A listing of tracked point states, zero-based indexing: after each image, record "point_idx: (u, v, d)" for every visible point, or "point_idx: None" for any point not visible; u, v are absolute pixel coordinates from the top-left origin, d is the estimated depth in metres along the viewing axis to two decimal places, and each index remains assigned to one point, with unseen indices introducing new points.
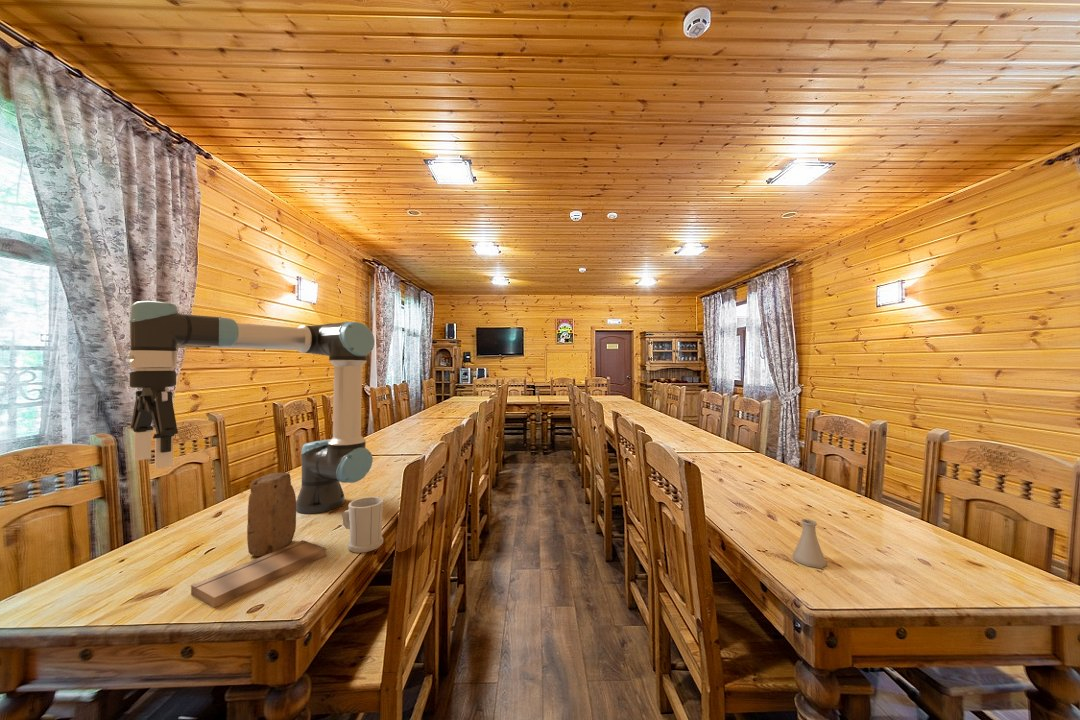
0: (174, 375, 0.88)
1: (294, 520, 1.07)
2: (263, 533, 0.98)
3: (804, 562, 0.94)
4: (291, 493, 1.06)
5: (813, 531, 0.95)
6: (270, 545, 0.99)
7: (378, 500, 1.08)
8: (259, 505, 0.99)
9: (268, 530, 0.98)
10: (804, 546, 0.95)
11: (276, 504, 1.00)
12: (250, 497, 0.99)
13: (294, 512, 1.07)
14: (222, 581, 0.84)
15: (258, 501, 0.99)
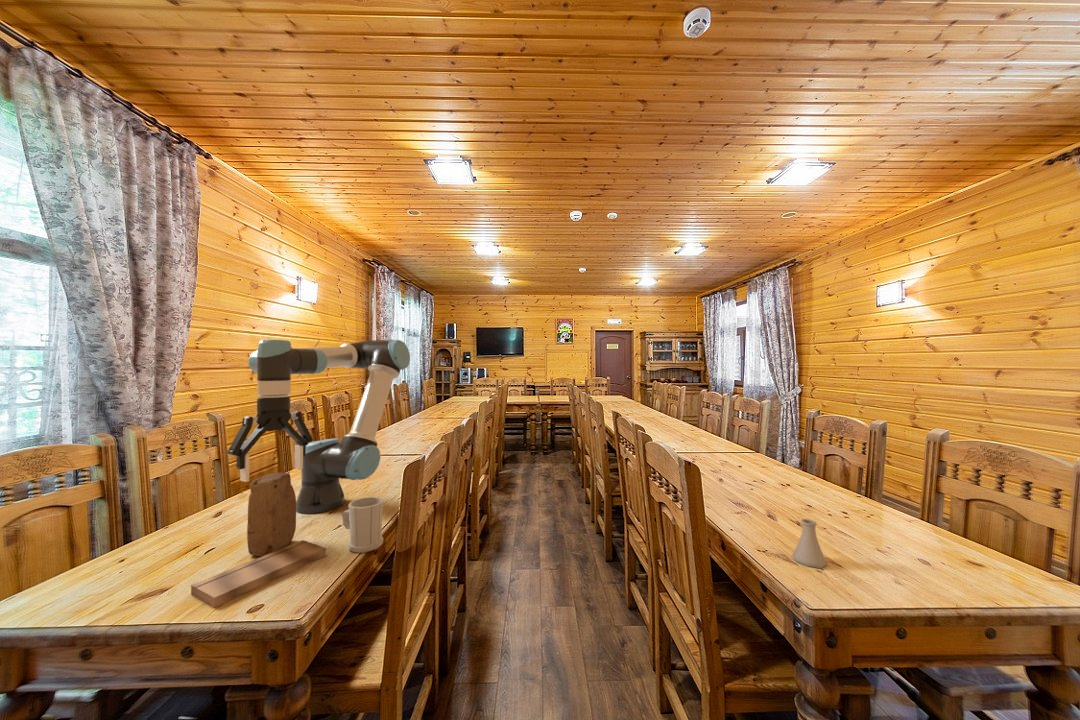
0: (270, 401, 1.01)
1: (294, 520, 1.07)
2: (263, 533, 0.98)
3: (804, 562, 0.94)
4: (291, 493, 1.06)
5: (813, 531, 0.95)
6: (270, 545, 0.99)
7: (378, 500, 1.08)
8: (259, 505, 0.99)
9: (268, 530, 0.98)
10: (804, 546, 0.95)
11: (276, 504, 1.00)
12: (250, 497, 0.99)
13: (294, 512, 1.07)
14: (222, 581, 0.84)
15: (258, 501, 0.99)
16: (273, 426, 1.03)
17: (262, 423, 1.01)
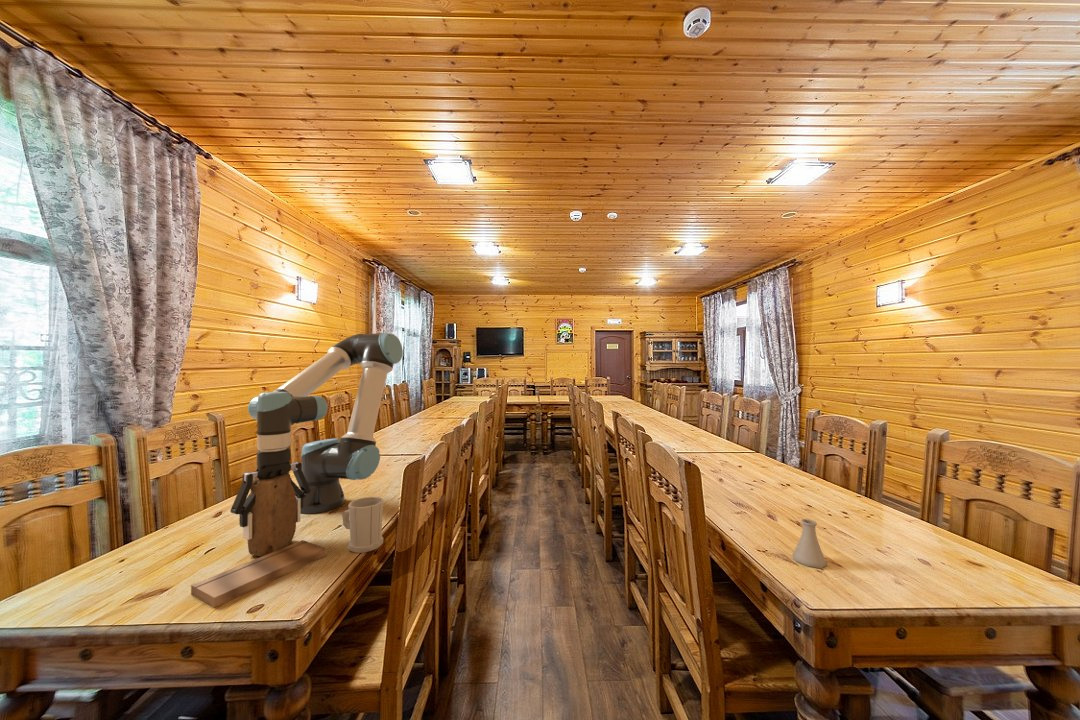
0: (270, 456, 1.01)
1: (294, 520, 1.07)
2: (263, 533, 0.98)
3: (804, 562, 0.94)
4: (291, 493, 1.06)
5: (813, 531, 0.95)
6: (271, 545, 0.99)
7: (378, 500, 1.08)
8: (260, 505, 0.99)
9: (268, 530, 0.98)
10: (804, 546, 0.95)
11: (276, 504, 1.01)
12: None
13: (294, 512, 1.07)
14: (222, 581, 0.84)
15: (259, 501, 0.99)
16: None
17: (262, 477, 1.01)
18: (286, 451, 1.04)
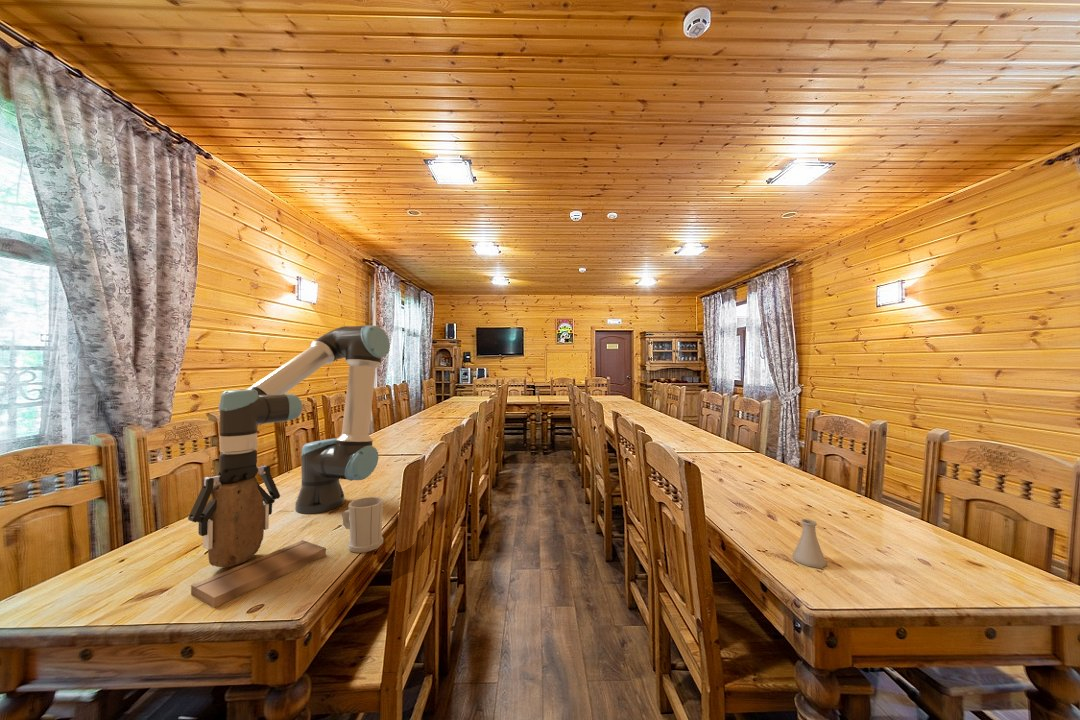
0: (233, 459, 0.93)
1: (261, 527, 0.99)
2: (225, 542, 0.91)
3: (804, 562, 0.94)
4: (258, 499, 0.98)
5: (813, 531, 0.95)
6: (233, 555, 0.92)
7: (378, 500, 1.08)
8: (221, 512, 0.91)
9: (230, 539, 0.91)
10: (804, 546, 0.95)
11: (240, 510, 0.93)
12: None
13: (261, 519, 0.99)
14: (222, 581, 0.84)
15: (220, 507, 0.91)
16: None
17: (224, 482, 0.93)
18: (252, 453, 0.96)
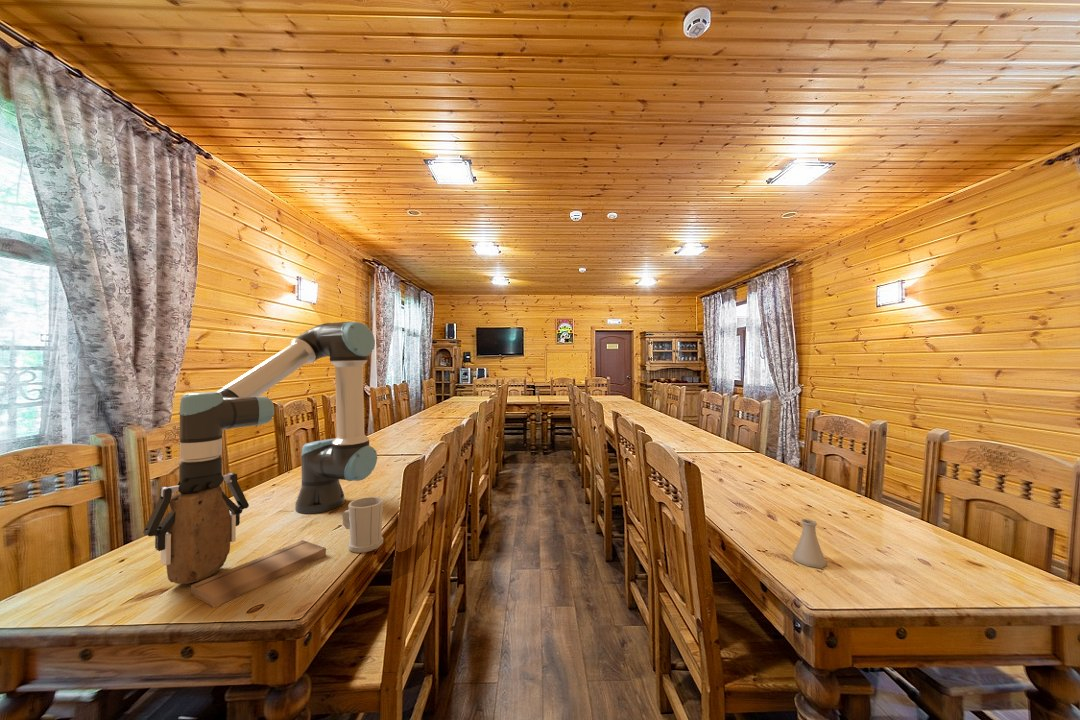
0: (194, 467, 0.86)
1: (227, 540, 0.93)
2: (184, 557, 0.84)
3: (804, 562, 0.94)
4: (223, 510, 0.92)
5: (813, 531, 0.95)
6: (193, 571, 0.85)
7: (378, 500, 1.08)
8: (180, 524, 0.84)
9: (190, 554, 0.84)
10: (804, 546, 0.95)
11: (201, 522, 0.86)
12: None
13: (227, 531, 0.93)
14: (222, 581, 0.84)
15: (179, 520, 0.85)
16: None
17: (184, 492, 0.86)
18: (215, 461, 0.89)
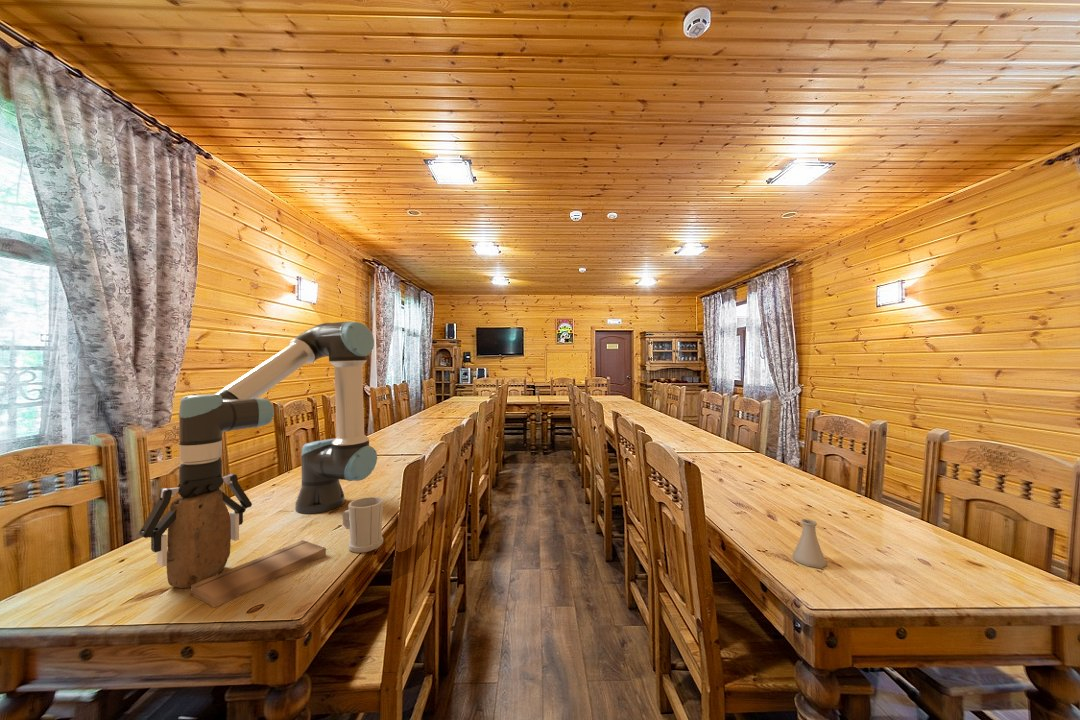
0: (194, 469, 0.86)
1: (227, 543, 0.93)
2: (184, 561, 0.84)
3: (804, 562, 0.94)
4: (223, 513, 0.92)
5: (813, 531, 0.95)
6: (194, 575, 0.85)
7: (378, 500, 1.08)
8: (180, 528, 0.85)
9: (190, 557, 0.84)
10: (804, 546, 0.95)
11: (202, 526, 0.86)
12: None
13: (227, 534, 0.93)
14: (222, 581, 0.84)
15: (179, 523, 0.85)
16: None
17: (184, 494, 0.86)
18: (215, 463, 0.89)
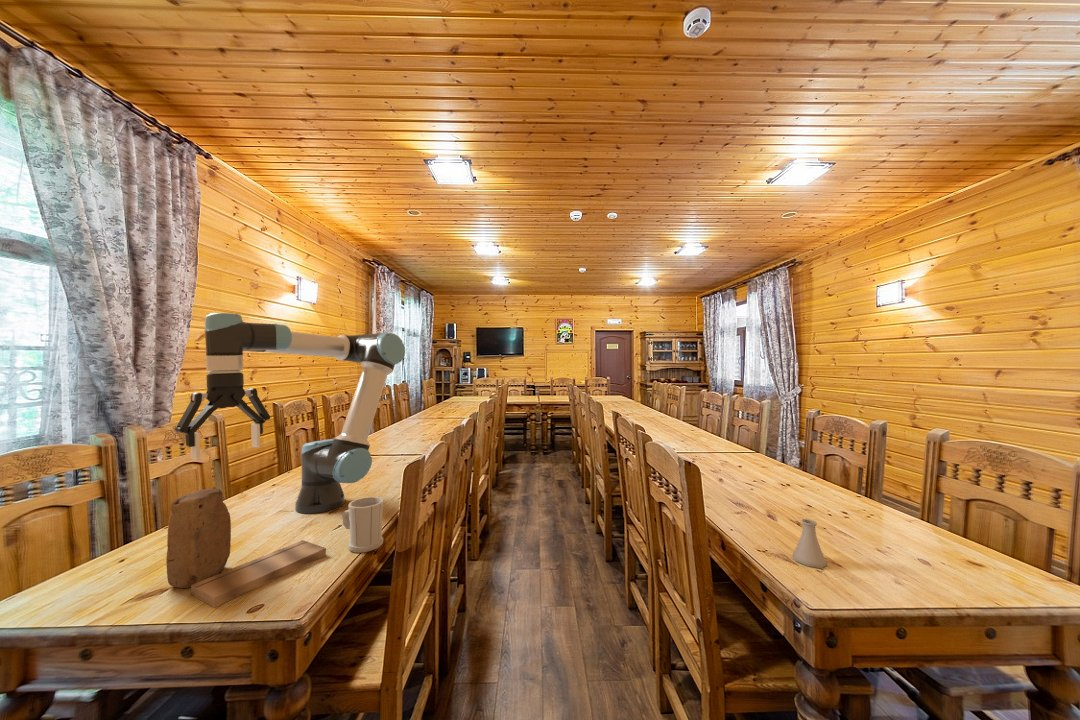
0: (220, 377, 0.97)
1: (227, 543, 0.93)
2: (184, 561, 0.84)
3: (804, 562, 0.94)
4: (223, 513, 0.92)
5: (813, 531, 0.95)
6: (194, 575, 0.85)
7: (378, 500, 1.08)
8: (181, 528, 0.85)
9: (190, 557, 0.84)
10: (804, 546, 0.95)
11: (202, 526, 0.86)
12: (170, 519, 0.85)
13: (227, 534, 0.93)
14: (222, 581, 0.84)
15: (179, 523, 0.85)
16: (225, 403, 0.99)
17: (213, 400, 0.97)
18: (238, 374, 1.00)
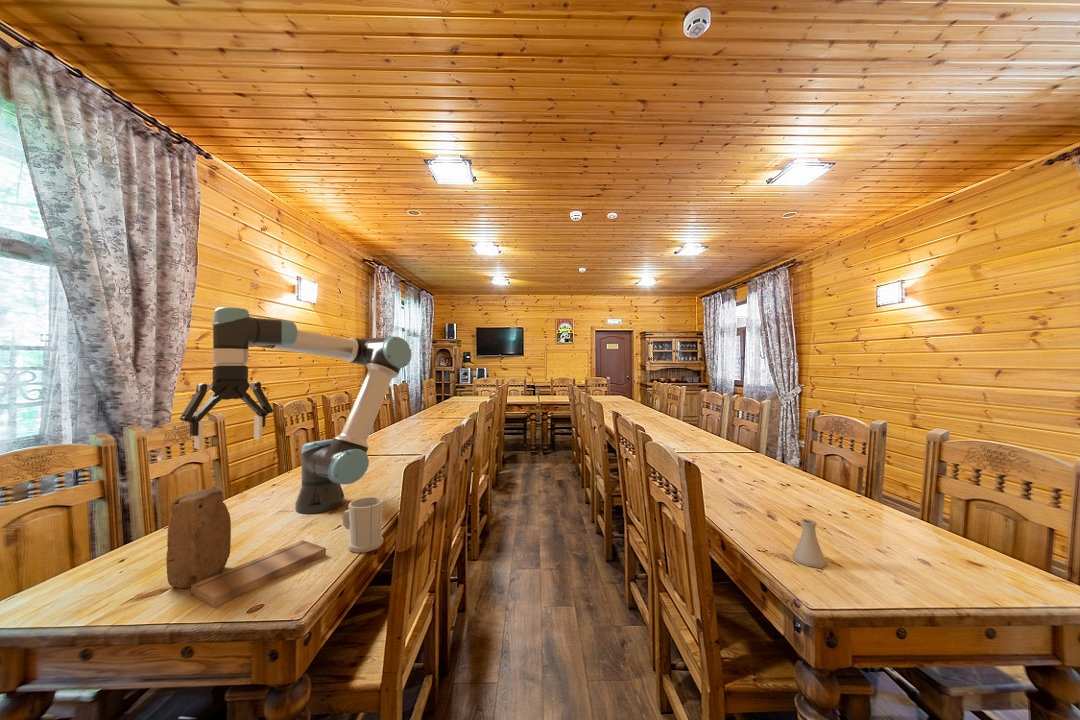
0: (225, 369, 1.00)
1: (227, 543, 0.93)
2: (184, 561, 0.84)
3: (804, 562, 0.94)
4: (223, 513, 0.92)
5: (813, 531, 0.95)
6: (194, 575, 0.85)
7: (378, 500, 1.08)
8: (181, 528, 0.85)
9: (190, 557, 0.84)
10: (804, 546, 0.95)
11: (202, 526, 0.86)
12: (170, 519, 0.85)
13: (227, 534, 0.93)
14: (222, 581, 0.84)
15: (179, 523, 0.85)
16: (230, 394, 1.02)
17: (217, 391, 1.00)
18: (243, 367, 1.03)
